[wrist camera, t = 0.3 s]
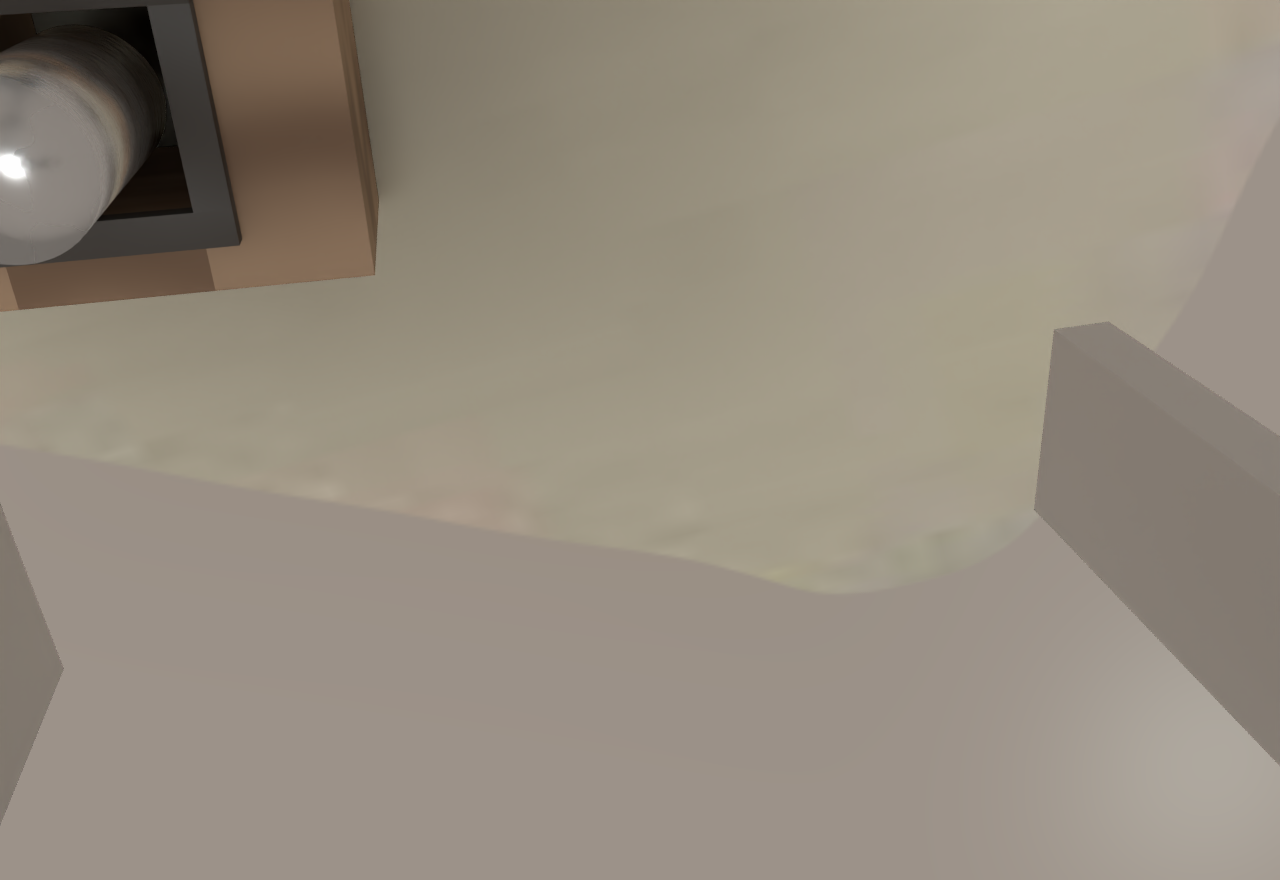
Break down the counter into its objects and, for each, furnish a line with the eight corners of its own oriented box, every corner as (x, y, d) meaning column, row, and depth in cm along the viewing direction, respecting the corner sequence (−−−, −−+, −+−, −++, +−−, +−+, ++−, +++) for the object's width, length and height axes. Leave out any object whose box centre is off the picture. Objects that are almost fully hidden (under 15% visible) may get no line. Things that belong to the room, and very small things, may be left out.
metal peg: (-13, 29, 30) (-137, 83, 23) (147, 20, 31) (73, 69, 24) (31, 181, 32) (-72, 273, 25) (181, 169, 32) (121, 256, 25)
